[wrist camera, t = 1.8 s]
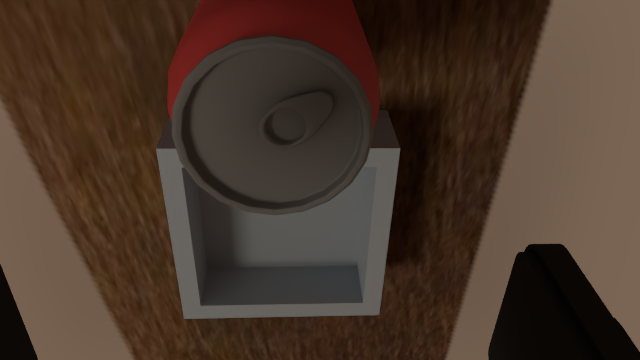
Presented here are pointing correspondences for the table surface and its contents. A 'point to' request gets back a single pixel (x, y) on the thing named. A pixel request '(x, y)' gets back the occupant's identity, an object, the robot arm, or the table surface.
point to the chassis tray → (282, 243)
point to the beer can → (273, 101)
